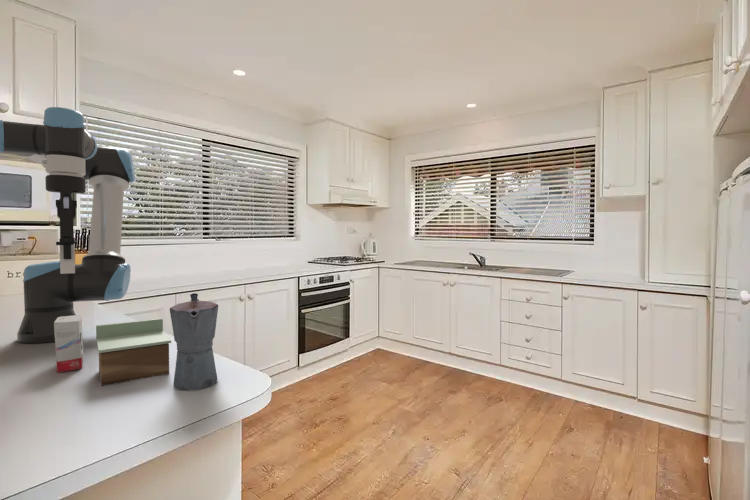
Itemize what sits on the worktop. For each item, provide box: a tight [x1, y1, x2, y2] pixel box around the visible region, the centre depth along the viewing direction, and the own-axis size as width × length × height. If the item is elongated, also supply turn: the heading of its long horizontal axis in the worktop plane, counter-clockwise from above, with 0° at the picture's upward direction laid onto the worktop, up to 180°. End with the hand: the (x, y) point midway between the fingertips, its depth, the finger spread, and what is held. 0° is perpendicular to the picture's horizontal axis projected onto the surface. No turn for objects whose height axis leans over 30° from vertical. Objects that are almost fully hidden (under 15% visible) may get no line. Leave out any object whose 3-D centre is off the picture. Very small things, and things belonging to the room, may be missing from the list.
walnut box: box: [98, 343, 170, 387], centre depth 93 cm, size 11×13×7 cm
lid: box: [95, 318, 172, 354], centre depth 93 cm, size 12×14×4 cm
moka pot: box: [169, 292, 219, 392], centre depth 87 cm, size 10×15×20 cm, turn 28°
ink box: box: [54, 314, 84, 373], centre depth 96 cm, size 9×5×12 cm, turn 33°
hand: (67, 271), depth 96 cm, fingers open, 7 cm apart
